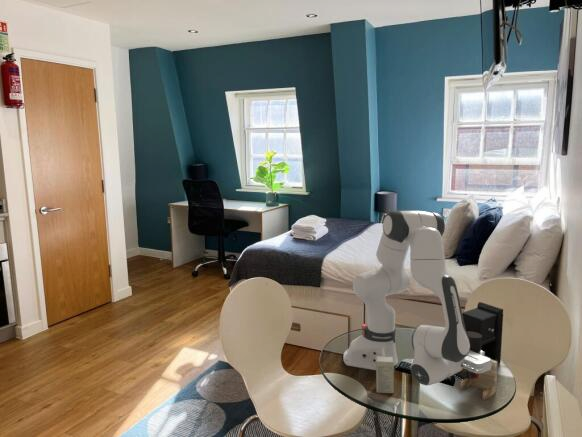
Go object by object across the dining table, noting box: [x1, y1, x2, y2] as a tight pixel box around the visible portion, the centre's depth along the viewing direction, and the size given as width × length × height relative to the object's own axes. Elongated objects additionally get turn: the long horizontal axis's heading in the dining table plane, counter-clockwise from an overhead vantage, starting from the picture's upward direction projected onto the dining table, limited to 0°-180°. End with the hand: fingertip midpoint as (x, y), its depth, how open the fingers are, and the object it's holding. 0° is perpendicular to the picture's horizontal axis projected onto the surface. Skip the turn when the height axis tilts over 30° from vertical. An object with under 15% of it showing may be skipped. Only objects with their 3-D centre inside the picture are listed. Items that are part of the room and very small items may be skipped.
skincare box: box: [375, 356, 395, 394], centre depth 160 cm, size 6×4×12 cm
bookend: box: [453, 301, 504, 381], centre depth 175 cm, size 23×11×24 cm, turn 122°
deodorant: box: [460, 331, 482, 379], centre depth 155 cm, size 6×6×15 cm
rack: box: [460, 359, 499, 401], centre depth 159 cm, size 8×9×12 cm
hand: (472, 349), depth 156 cm, fingers closed on deodorant, 6 cm apart
